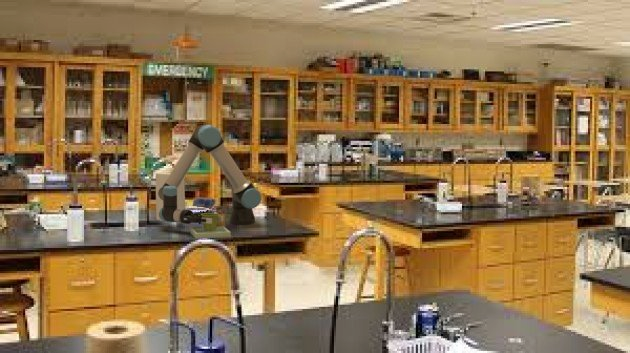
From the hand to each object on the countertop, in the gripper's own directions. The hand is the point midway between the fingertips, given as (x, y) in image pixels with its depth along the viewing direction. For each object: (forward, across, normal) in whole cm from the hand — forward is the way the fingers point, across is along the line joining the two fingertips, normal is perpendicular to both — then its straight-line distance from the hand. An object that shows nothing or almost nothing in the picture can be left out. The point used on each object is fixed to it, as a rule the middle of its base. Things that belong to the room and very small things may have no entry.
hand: (217, 219), depth 360 cm
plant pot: (-5, 0, -6) cm, 8 cm away
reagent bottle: (-11, -16, -9) cm, 21 cm away
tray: (-5, 0, -9) cm, 10 cm away
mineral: (-61, -63, -9) cm, 88 cm away
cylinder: (-62, -33, -9) cm, 71 cm away
